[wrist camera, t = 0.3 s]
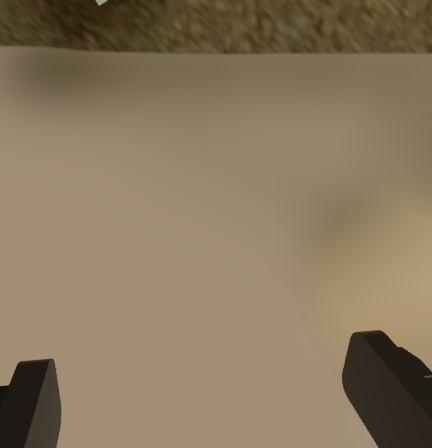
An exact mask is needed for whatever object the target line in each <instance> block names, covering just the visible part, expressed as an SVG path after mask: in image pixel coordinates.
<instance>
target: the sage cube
mask: <svg viewBox="0 0 432 448" xmlns="http://www.w3.org/2000/svg"><path fill="white" fill-rule="evenodd" d="M106 1H107V0H96V2H97V3H98V5H99V6H100V5H101V4H103V3H104V2H106Z"/></svg>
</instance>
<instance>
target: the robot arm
mask: <svg viewBox="0 0 432 448" xmlns="http://www.w3.org/2000/svg"><path fill="white" fill-rule="evenodd" d="M342 382H343V387H344V390H345V393H346V395H347V397H348V399H349V401H350V402H351V404H352V405H353V407H354V409H355V410H356V412H357V413H358V415H359V417H360V418H361V420H362V422H363V423H364V425H365V426H366V428H367V430H368V431H369V433H370V434H371V436H372V437H373V439H374V441H375V443H376V444H377V446H378V447H379V448H432V372H431V371H430V369H429V368H427V366H426V365H425V364H424V363H423V362H422V361H421V360H420V359H419V358H417V357H416V356H414V355H413V354H411V353H410V352H408V351H407V350H405V349H404V348H402V347H397V346H396V345H395V344H394V343H393V342H392V341H391V339H390V338H389V337H388V336H387V335H386V334H385V333H384V332H383V331H380V330H375V331H365V332H355V333H353V334H352V336H351V338H350V342H349V346H348V351H347V355H346V359H345V364H344V368H343V373H342ZM60 424H61V401H60V395H59V388H58V381H57V374H56V368H55V362H54V360H53V359H42V360H31V361H21V362H19V363H18V365H17V367H16V369H15V372H14V374H13V377H12V379H11V382H10V384H9V385H8V386H0V448H56V445H57V440H58V436H59V431H60Z"/></svg>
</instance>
